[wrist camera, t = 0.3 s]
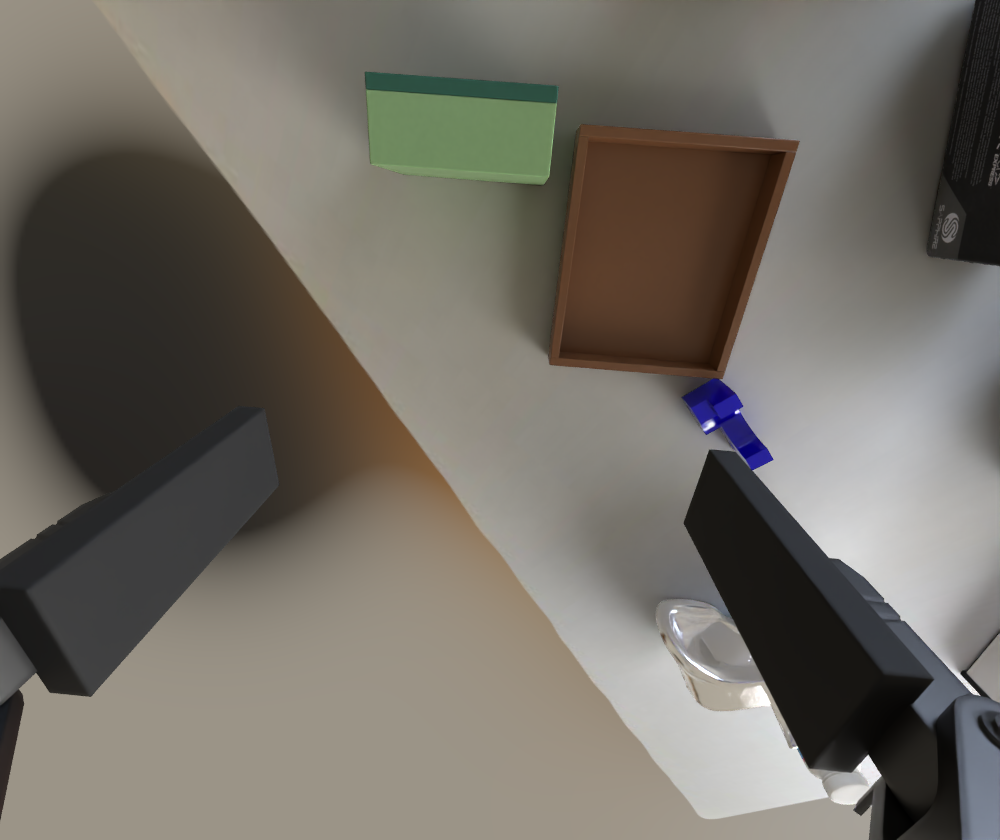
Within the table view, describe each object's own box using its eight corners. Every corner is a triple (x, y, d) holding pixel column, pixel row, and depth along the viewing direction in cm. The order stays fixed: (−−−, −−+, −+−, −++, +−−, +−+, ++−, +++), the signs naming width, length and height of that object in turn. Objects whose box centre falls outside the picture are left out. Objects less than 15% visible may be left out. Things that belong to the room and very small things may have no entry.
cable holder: (681, 397, 40) (696, 415, 36) (716, 376, 39) (735, 393, 35) (718, 456, 42) (736, 478, 39) (751, 438, 41) (773, 459, 38)
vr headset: (805, 550, 47) (912, 677, 34) (815, 616, 52) (913, 751, 39) (645, 590, 51) (687, 717, 38) (667, 648, 56) (711, 780, 43)
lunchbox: (401, 95, 31) (363, 59, 23) (551, 106, 30) (559, 74, 23) (403, 174, 33) (369, 164, 26) (543, 185, 33) (549, 177, 26)
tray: (576, 130, 31) (580, 123, 29) (780, 145, 31) (800, 140, 29) (548, 356, 39) (549, 365, 37) (711, 369, 39) (722, 379, 36)
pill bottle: (795, 712, 60) (850, 813, 50) (762, 699, 59) (810, 798, 49) (828, 690, 58) (892, 791, 48) (793, 676, 57) (852, 776, 47)
